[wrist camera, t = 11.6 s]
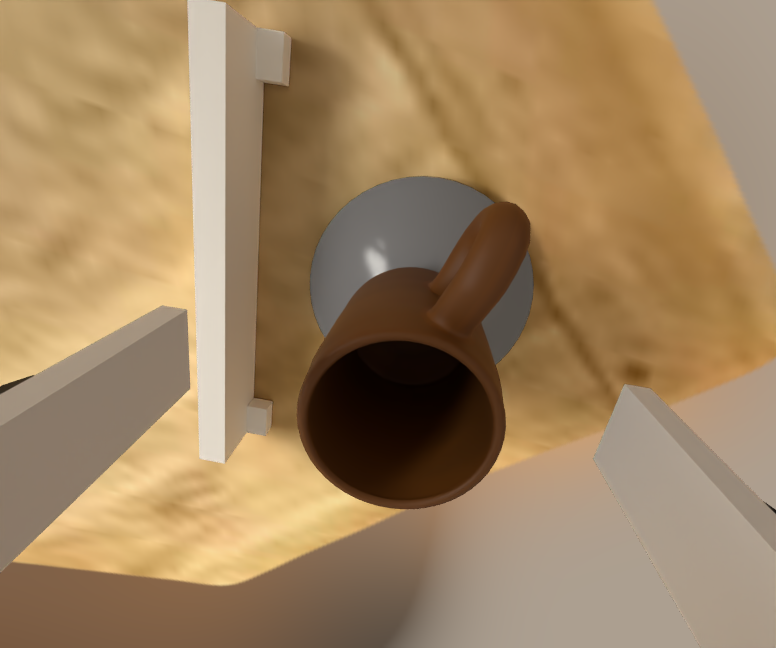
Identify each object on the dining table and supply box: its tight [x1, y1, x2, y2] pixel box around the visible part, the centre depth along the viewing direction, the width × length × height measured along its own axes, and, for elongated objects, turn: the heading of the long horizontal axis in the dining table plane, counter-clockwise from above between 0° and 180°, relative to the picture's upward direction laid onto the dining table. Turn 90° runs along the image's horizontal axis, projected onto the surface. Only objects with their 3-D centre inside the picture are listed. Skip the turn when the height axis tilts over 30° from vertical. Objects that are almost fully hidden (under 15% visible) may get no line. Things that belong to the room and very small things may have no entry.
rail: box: [187, 0, 291, 464], centre depth 21 cm, size 4×22×4 cm, turn 172°
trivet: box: [310, 176, 534, 365], centre depth 23 cm, size 12×12×1 cm
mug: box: [297, 202, 530, 509], centre depth 18 cm, size 12×8×9 cm, turn 154°
